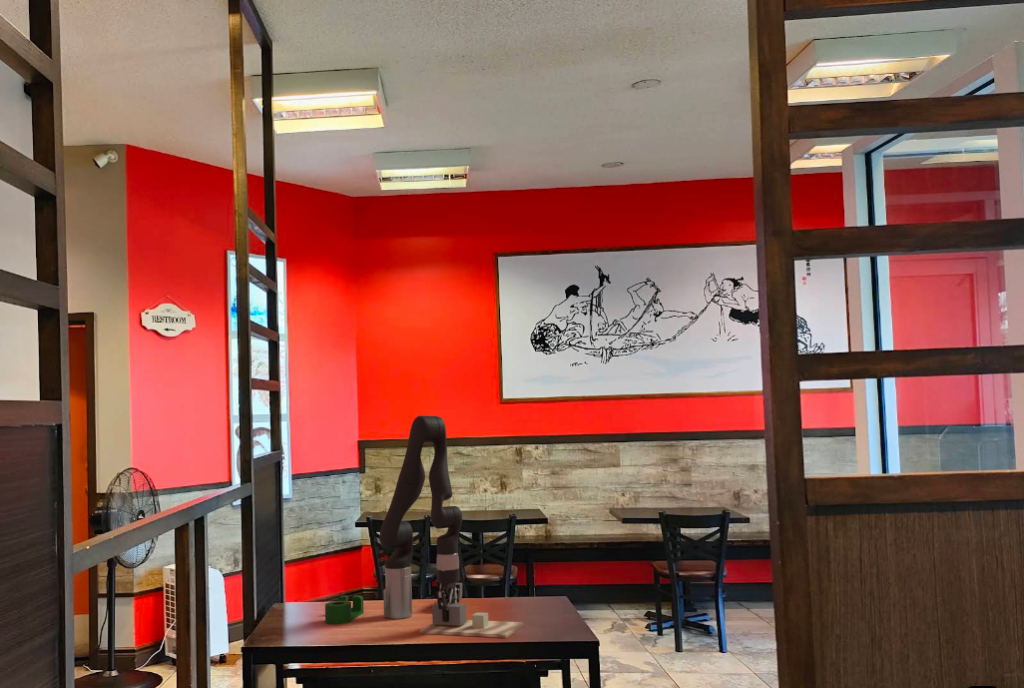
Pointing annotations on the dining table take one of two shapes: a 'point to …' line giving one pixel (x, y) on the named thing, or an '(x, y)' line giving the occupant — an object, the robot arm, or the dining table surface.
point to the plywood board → (475, 629)
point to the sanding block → (450, 614)
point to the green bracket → (343, 610)
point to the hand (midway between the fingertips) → (449, 619)
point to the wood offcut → (479, 620)
